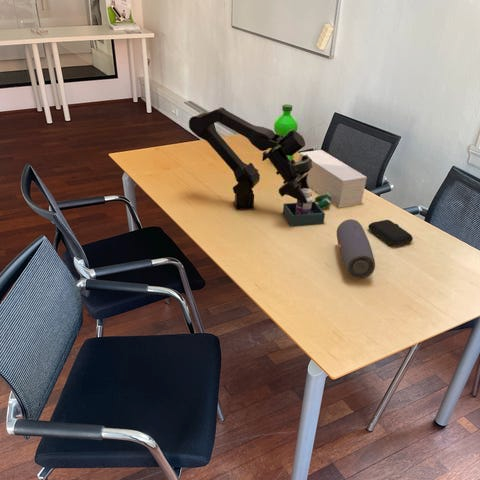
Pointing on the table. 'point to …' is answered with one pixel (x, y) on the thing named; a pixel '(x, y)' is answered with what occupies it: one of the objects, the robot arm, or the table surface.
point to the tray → (303, 215)
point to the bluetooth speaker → (355, 249)
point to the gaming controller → (323, 200)
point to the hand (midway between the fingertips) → (308, 199)
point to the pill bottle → (304, 207)
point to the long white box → (335, 179)
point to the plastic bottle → (285, 123)
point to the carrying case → (390, 232)
